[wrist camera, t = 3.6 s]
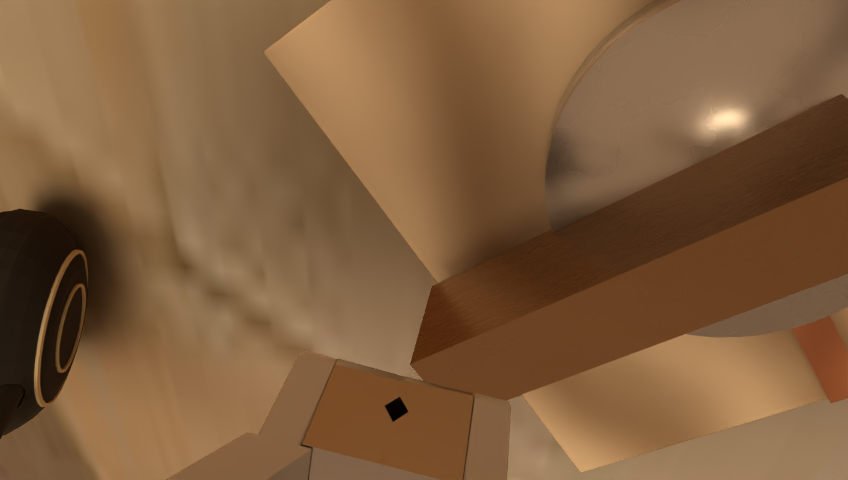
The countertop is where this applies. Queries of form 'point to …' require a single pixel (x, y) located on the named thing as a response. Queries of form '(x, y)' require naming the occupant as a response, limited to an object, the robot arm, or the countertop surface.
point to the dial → (668, 200)
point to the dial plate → (524, 197)
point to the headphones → (37, 312)
